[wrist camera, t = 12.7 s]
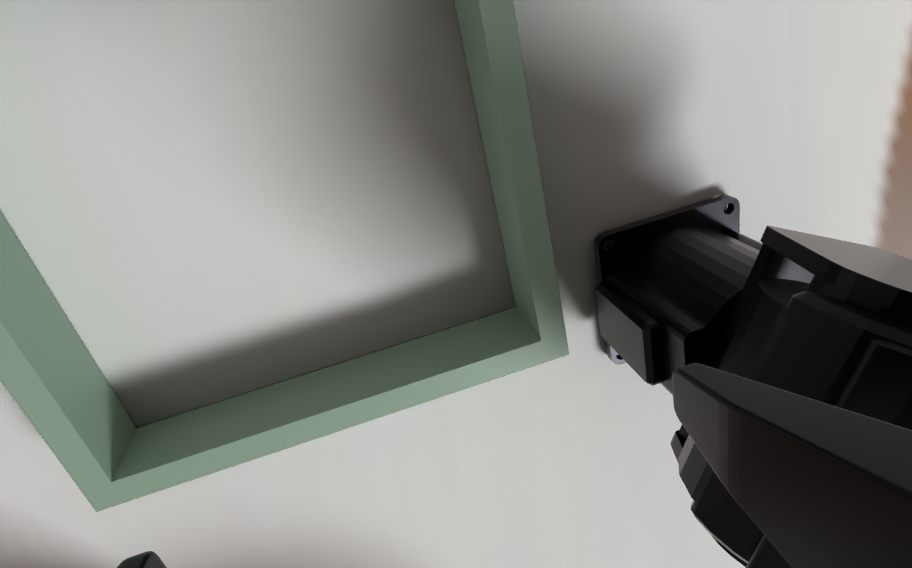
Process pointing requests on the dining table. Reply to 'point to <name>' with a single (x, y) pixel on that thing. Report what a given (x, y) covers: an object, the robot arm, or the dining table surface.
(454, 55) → the dining table surface
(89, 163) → the dining table surface
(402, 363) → the cold frame
